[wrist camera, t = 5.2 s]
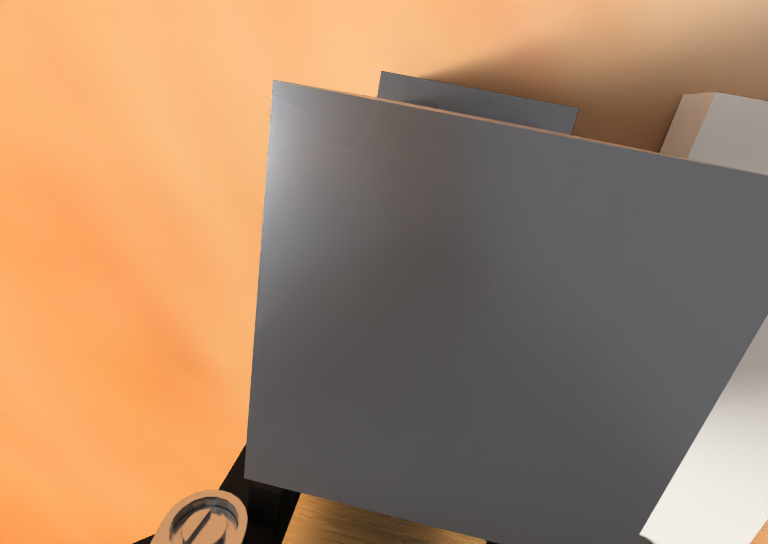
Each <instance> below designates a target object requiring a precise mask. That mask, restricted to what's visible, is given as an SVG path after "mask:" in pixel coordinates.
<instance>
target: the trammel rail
mask: <svg viewBox="0 0 768 544" xmlns="http://www.w3.org/2000/svg"><path fill="white" fill-rule="evenodd" d="M578 110H579V108H575V107H570V106H564V105H559V104H554V103H549V102H543V101H538V100H533V99H527V98H522V97H517V96H512V95H506V94H501V93H496V92H490V91H485V90H480V89H475V88H469V87H464V86H459V85H453V84H448V83H443V82H438V81H432V80H427V79H422V78H416V77H411V76H406V75H401V74H395V73H390V72H385V71H381V77H380V83H379V90H378V96H377V97H371V96H365V95H359V94H353V93H347V92H341V91H335V90H329V89H324V88H318V87H312V86H306V85H300V84H294V83H288V82H282V81H276V80H273V90H272V103H271V117H270V131H269V144H268V158H267V171H266V185H265V199H264V212H263V226H262V239H261V253H260V266H259V280H258V294H257V307H256V321H255V334H254V348H253V362H252V375H251V389H250V402H249V416H248V429H247V443H246V457H245V470H244V478H245V479H249V480H253V481H257V482H261V483H265V484H269V485H273V486H276V487H280V488H284V489H288V490H292V491H296V492H300V493H304V494H308V495H312V496H316V497H319V498H323V499H327V500H331V501H335V502H339V503H343V504H347V505H351V506H355V507H358V508H362V509H366V510H370V511H374V512H378V513H382V514H386V515H390V516H394V517H398V518H401V519H405V520H409V521H413V522H417V523H421V524H425V525H429V526H433V527H437V528H440V529H444V530H448V531H452V532H456V533H460V534H464V535H468V536H472V537H476V538H480V539H483V540H487V541H491V542H495V543H499V544H634V543H635V541H636V539H637V537H638V536H639V534H640V532H641V531H642V529H643V527H644V526H645V524H646V522H647V520H648V519H649V517H650V515H651V514H652V512H653V510H654V508H655V507H656V505H657V503H658V502H659V500H660V498H661V496H662V495H663V493H664V491H665V490H666V488H667V486H668V484H669V483H670V481H671V479H672V478H673V476H674V474H675V472H676V471H677V469H678V467H679V466H680V464H681V462H682V460H683V459H684V457H685V455H686V454H687V452H688V450H689V448H690V447H691V445H692V443H693V442H694V440H695V438H696V436H697V435H698V433H699V431H700V430H701V428H702V426H703V424H704V423H705V421H706V419H707V418H708V416H709V414H710V412H711V411H712V409H713V407H714V406H715V404H716V402H717V400H718V399H719V397H720V395H721V394H722V392H723V390H724V388H725V387H726V385H727V383H728V382H729V380H730V378H731V377H732V375H733V373H734V371H735V370H736V368H737V366H738V365H739V363H740V361H741V359H742V358H743V356H744V354H745V353H746V351H747V349H748V347H749V346H750V344H751V342H752V341H753V339H754V337H755V335H756V334H757V332H758V330H759V329H760V327H761V325H762V323H763V322H764V320H765V318H766V317H767V315H768V175H765V174H760V173H756V172H751V171H746V170H741V169H736V168H731V167H726V166H721V165H716V164H712V163H707V162H702V161H697V160H692V159H687V158H682V157H677V156H672V155H667V154H663V153H658V152H653V151H648V150H643V149H638V148H633V147H628V146H623V145H619V144H614V143H609V142H604V141H599V140H594V139H589V138H584V137H579V136H575V135H571V131H572V128H573V125H574V122H575V119H576V116H577V113H578Z"/></svg>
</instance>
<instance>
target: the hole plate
mask: <svg viewBox="0 0 768 544" xmlns="http://www.w3.org/2000/svg"><path fill="white" fill-rule="evenodd" d="M660 153H663V154H667V155H672V156H677V157H682V158H687V159H692V160H697V161H702V162H707V163H712V164H716V165H721V166H726V167H731V168H736V169H741V170H746V171H751V172H756V173H760V174H765V175H768V101H764V100H758V99H753V98H747V97H742V96H736V95H731V94H725V93H720V92H706V93H691V94H683V96H682V99H681V101H680V104H679V106H678V109H677V111H676V113H675V116H674V118H673V121H672V123H671V126H670V128H669V131H668V133H667V135H666V138H665V140H664V143H663V145H662V148H661V150H660ZM767 519H768V315H767V317H766V318H765V320H764V322H763V323H762V325H761V327H760V329H759V330H758V332H757V334H756V335H755V337H754V339H753V341H752V342H751V344H750V346H749V347H748V349H747V351H746V353H745V354H744V356H743V358H742V359H741V361H740V363H739V365H738V366H737V368H736V370H735V371H734V373H733V375H732V377H731V378H730V380H729V382H728V383H727V385H726V387H725V388H724V390H723V392H722V394H721V395H720V397H719V399H718V400H717V402H716V404H715V406H714V407H713V409H712V411H711V412H710V414H709V416H708V418H707V419H706V421H705V423H704V424H703V426H702V428H701V430H700V431H699V433H698V435H697V436H696V438H695V440H694V442H693V443H692V445H691V447H690V448H689V450H688V452H687V454H686V455H685V457H684V459H683V460H682V462H681V464H680V466H679V467H678V469H677V471H676V472H675V474H674V476H673V478H672V479H671V481H670V483H669V484H668V486H667V488H666V490H665V491H664V493H663V495H662V496H661V498H660V500H659V502H658V503H657V505H656V507H655V508H654V510H653V512H652V514H651V515H650V517H649V519H648V520H647V522H646V524H645V526H644V527H643V529H642V531H641V532H640V534H639V536H638V537H637V539H636V541H635V543H634V544H750V543H751V541H752V540H753V538H754V537H755V536H756V534H757V533H758V532H759V530H760V529H761V528H762V526H763V525H764V523H765V522H766V521H767Z"/></svg>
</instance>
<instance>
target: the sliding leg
mask: <svg viewBox="0 0 768 544" xmlns="http://www.w3.org/2000/svg"><path fill="white" fill-rule="evenodd" d="M282 544H486V540H483V539H480V538H476V537H472V536H468V535H464V534H460V533H456V532H452V531H448V530H444V529H440V528H437V527H433V526H429V525H425V524H421V523H417V522H413V521H409V520H405V519H401V518H398V517H394V516H390V515H386V514H382V513H378V512H374V511H370V510H366V509H362V508H358V507H355V506H351V505H347V504H343V503H339V502H335V501H331V500H327V499H323V498H319V497H316V496H312V495H308V494H304V493H301V495H300V497H299V500H298V502H297V505H296V508H295V510H294V513H293V516H292V518H291V521H290V523H289V526H288V529H287V531H286V534H285V537H284V539H283V542H282Z"/></svg>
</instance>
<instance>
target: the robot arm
mask: <svg viewBox="0 0 768 544" xmlns="http://www.w3.org/2000/svg"><path fill="white" fill-rule="evenodd" d="M245 457H246V445H245V447H244V448H243V450H242V452H241V453H240V455H239V457H238V458H237V460H236V462H235V463H234V465H233V467H232V468H231V470H230V472H229V473H228V475H227V477H226V478H225V480H224V481H223V483H222V485H221V486H220V488H219V490H205V491H201V492H197V493H194V494H192V495H190V496H188V497H186V498H184V499H182V500H181V501H179V502H178V503H177V504H176V505H175V506H173V507H172V508H171V509H170V511H169V512H168V514H167V515H166V516H165V518H164V519H163V521H162V523H161V525H160V526H159V528H158V530H157V532H156V534H154V535H152V536H149V537H147V538H145V539H142V540H140V541H138V542H135V543H133V544H282V542H283V539H284V537H285V534H286V531H287V529H288V526H289V523H290V521H291V518H292V516H293V513H294V510H295V508H296V505H297V502H298V500H299V497H300V495H301V493H300V492H296V491H292V490H288V489H284V488H280V487H276V486H273V485H269V484H265V483H261V482H257V481H253V480H249V479H245V478H244V470H245ZM486 544H499V543H495V542H491V541H487V540H486Z"/></svg>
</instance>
